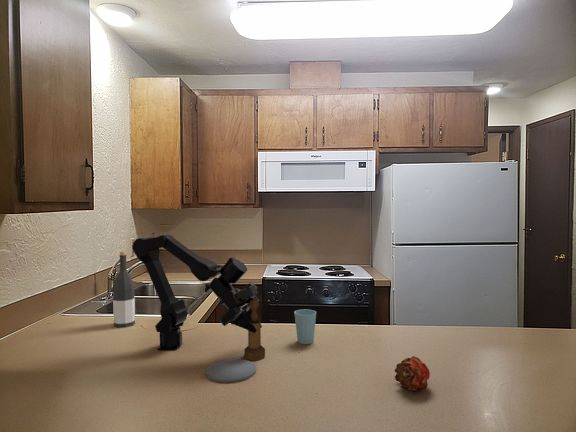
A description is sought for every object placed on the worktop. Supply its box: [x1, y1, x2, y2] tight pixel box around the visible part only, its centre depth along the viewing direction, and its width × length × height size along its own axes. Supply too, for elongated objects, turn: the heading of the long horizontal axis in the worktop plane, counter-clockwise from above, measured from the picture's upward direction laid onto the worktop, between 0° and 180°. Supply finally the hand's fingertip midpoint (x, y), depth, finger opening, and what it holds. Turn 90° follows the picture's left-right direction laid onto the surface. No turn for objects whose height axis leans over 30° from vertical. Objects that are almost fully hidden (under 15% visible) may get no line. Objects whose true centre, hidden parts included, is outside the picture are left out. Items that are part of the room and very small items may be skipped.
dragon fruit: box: [394, 355, 431, 392], centre depth 103 cm, size 8×8×12 cm
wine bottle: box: [112, 250, 136, 329], centre depth 161 cm, size 8×8×30 cm
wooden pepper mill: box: [243, 300, 266, 361], centre depth 125 cm, size 7×6×18 cm
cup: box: [293, 308, 317, 345], centre depth 139 cm, size 8×8×10 cm
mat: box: [206, 358, 257, 384], centre depth 114 cm, size 14×14×1 cm
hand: (258, 329), depth 125 cm, fingers closed on wooden pepper mill, 4 cm apart
